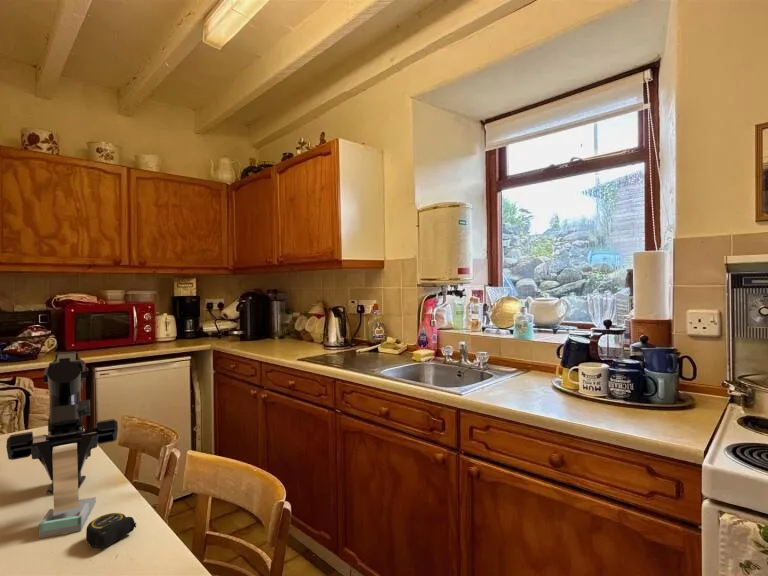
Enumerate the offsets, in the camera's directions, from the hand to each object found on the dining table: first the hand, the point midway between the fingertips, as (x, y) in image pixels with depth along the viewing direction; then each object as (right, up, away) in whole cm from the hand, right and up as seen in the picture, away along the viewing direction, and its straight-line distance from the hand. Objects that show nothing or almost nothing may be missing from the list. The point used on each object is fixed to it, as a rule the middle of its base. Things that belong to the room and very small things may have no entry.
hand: (65, 476), depth 88 cm
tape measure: (+12, -10, -5) cm, 17 cm away
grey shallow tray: (-1, -10, +2) cm, 10 cm away
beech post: (-1, -7, +1) cm, 7 cm away
